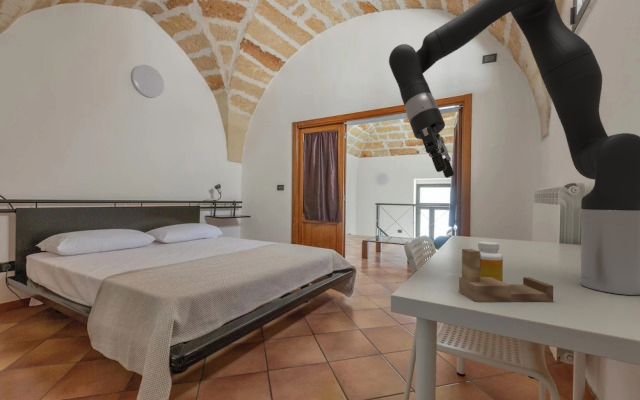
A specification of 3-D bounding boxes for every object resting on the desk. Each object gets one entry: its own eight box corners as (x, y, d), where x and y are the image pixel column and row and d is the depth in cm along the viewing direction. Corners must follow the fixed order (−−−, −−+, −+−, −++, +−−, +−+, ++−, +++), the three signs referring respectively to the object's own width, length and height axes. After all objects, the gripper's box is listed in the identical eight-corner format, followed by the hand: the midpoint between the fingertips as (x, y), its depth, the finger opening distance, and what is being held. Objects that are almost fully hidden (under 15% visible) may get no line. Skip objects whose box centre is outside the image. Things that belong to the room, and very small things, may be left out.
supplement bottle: (508, 290, 59) (508, 244, 59) (482, 290, 59) (483, 244, 59) (493, 283, 64) (493, 241, 64) (469, 282, 64) (469, 240, 64)
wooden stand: (529, 291, 58) (529, 248, 58) (553, 301, 52) (553, 254, 52) (459, 291, 58) (459, 248, 58) (475, 301, 52) (475, 253, 52)
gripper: (431, 97, 63) (456, 161, 59) (445, 117, 75) (467, 172, 70) (400, 114, 67) (422, 175, 63) (418, 131, 79) (438, 183, 74)
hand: (446, 173), depth 66 cm, fingers open, 8 cm apart
